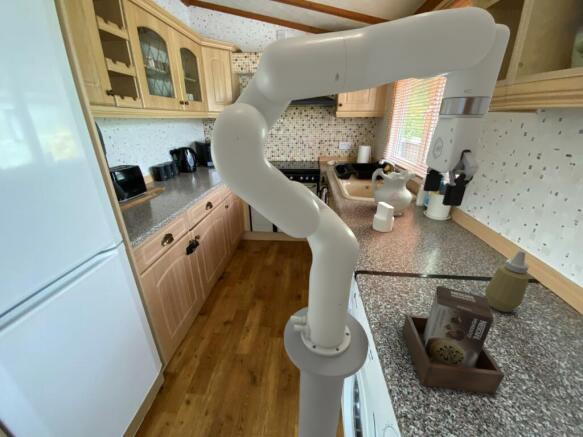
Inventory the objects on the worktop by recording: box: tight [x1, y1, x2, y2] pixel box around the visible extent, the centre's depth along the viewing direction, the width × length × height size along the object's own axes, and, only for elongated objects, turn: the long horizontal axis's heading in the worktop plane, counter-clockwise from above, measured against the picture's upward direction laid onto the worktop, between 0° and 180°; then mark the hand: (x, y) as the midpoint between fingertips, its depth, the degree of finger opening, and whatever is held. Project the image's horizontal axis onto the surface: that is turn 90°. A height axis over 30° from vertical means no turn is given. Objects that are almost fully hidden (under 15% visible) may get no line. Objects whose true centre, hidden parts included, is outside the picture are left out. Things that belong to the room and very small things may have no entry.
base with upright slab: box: [372, 202, 395, 233], centre depth 116 cm, size 9×9×12 cm
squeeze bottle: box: [485, 249, 530, 313], centre depth 67 cm, size 8×8×18 cm
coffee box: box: [422, 285, 495, 368], centre depth 51 cm, size 9×6×16 cm
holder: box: [401, 314, 505, 395], centre depth 53 cm, size 14×14×6 cm
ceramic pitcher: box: [371, 167, 416, 217], centre depth 134 cm, size 22×20×25 cm
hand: (439, 197), depth 52 cm, fingers open, 9 cm apart
